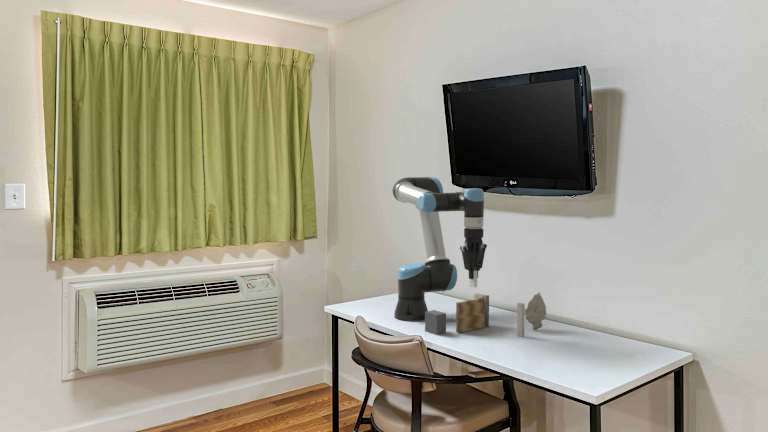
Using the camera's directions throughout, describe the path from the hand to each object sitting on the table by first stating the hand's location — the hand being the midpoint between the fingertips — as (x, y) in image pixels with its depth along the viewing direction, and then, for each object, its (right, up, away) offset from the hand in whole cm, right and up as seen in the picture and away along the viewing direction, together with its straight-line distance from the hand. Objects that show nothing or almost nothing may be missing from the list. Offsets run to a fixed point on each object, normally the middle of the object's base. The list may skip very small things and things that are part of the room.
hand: (473, 286), depth 235 cm
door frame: (+11, -18, +5) cm, 22 cm away
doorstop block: (-15, -19, +3) cm, 24 cm away
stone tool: (+26, -18, +5) cm, 32 cm away
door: (-1, -18, +6) cm, 19 cm away
